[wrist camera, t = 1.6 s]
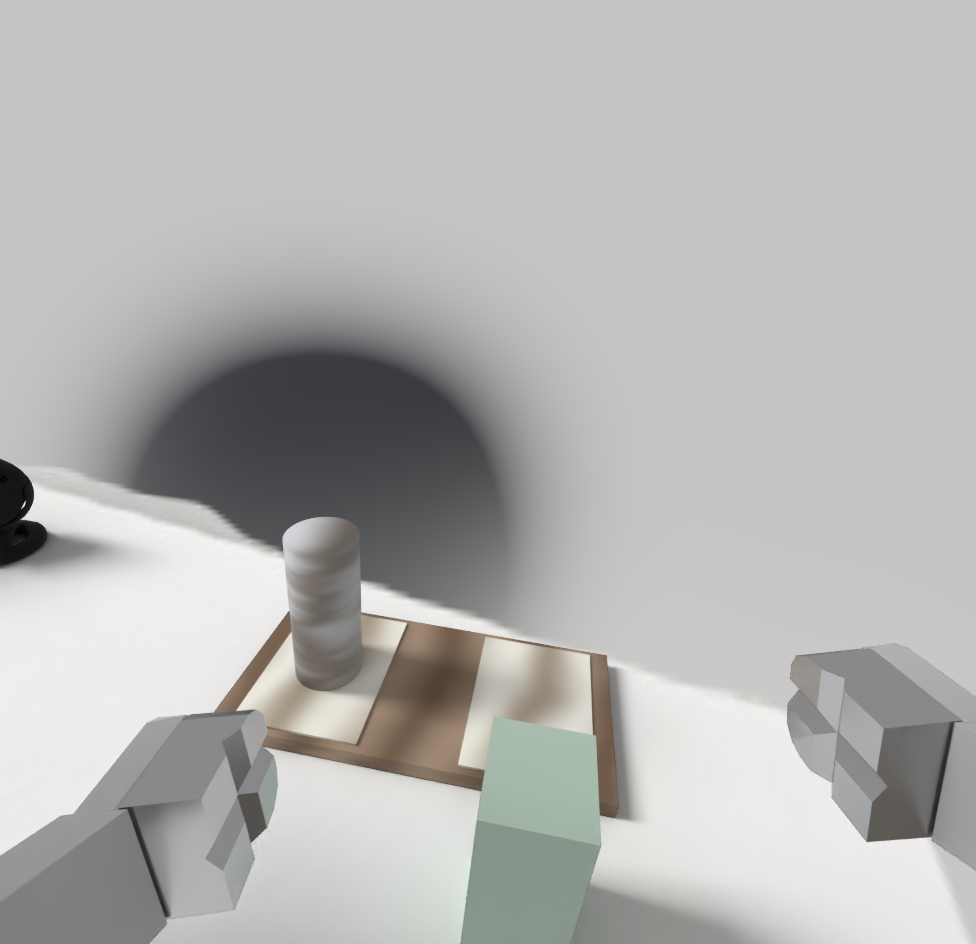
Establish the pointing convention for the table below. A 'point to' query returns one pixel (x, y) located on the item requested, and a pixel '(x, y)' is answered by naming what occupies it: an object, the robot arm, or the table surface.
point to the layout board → (406, 678)
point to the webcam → (17, 515)
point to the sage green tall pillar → (533, 836)
